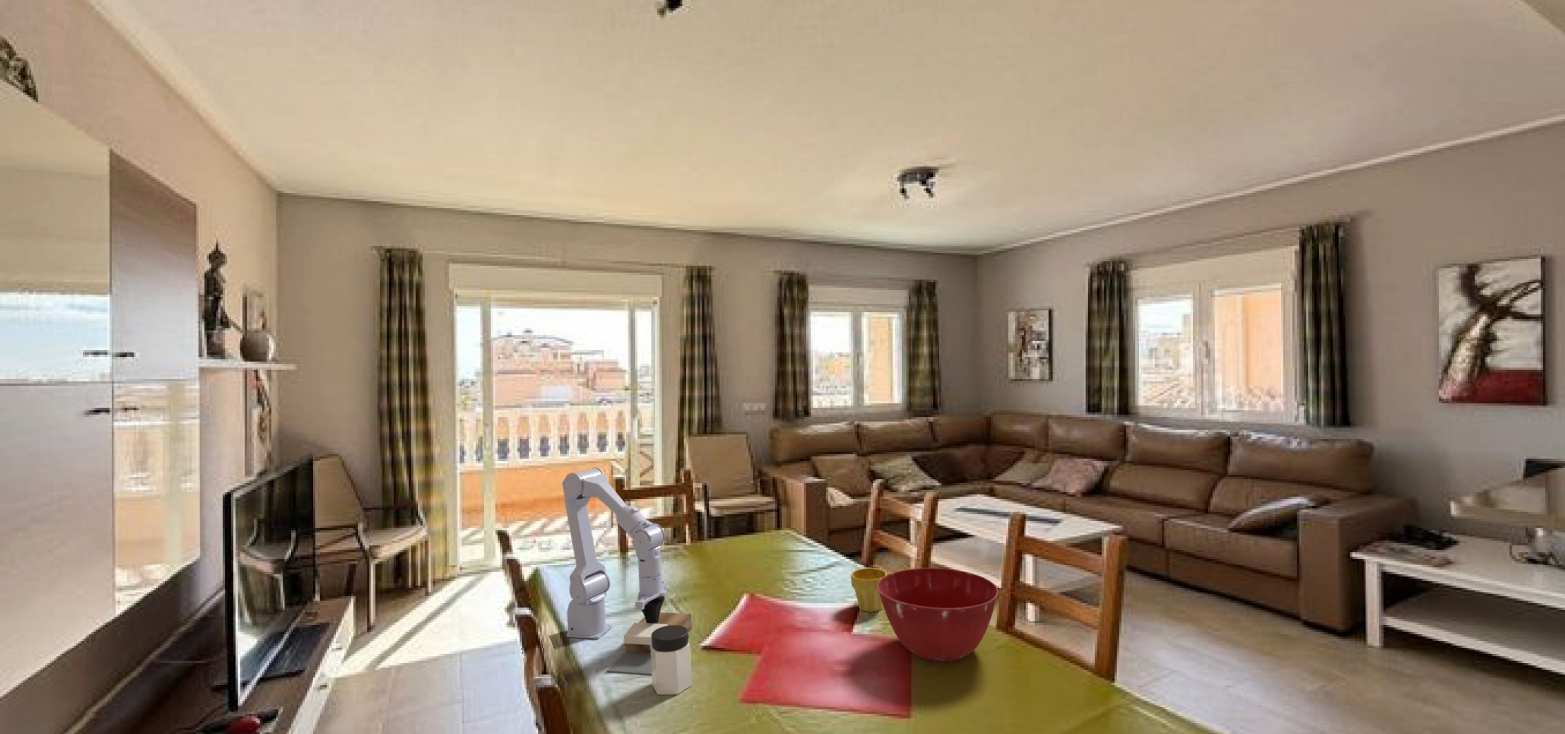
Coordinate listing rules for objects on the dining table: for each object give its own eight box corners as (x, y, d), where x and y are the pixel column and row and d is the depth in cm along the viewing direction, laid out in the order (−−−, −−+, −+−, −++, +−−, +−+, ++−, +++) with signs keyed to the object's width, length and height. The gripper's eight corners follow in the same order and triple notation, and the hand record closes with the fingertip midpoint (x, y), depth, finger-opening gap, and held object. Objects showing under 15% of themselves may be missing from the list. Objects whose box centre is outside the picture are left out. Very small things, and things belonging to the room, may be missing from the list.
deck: (625, 651, 160) (624, 635, 160) (650, 626, 174) (649, 611, 174) (670, 654, 157) (669, 637, 157) (691, 628, 172) (691, 613, 172)
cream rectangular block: (624, 643, 156) (623, 635, 156) (635, 629, 162) (634, 622, 162) (658, 645, 154) (657, 637, 154) (668, 631, 160) (667, 624, 160)
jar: (696, 689, 139) (693, 635, 139) (659, 699, 136) (657, 644, 136) (684, 672, 147) (681, 621, 147) (649, 681, 144) (646, 629, 144)
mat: (607, 671, 149) (606, 670, 149) (626, 652, 159) (626, 651, 159) (654, 675, 147) (654, 673, 147) (671, 655, 157) (671, 653, 157)
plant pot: (847, 612, 178) (846, 577, 178) (857, 599, 188) (856, 566, 187) (884, 616, 174) (882, 581, 174) (892, 602, 184) (891, 569, 184)
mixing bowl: (921, 615, 174) (918, 559, 174) (1022, 645, 154) (1019, 581, 153) (856, 651, 154) (853, 588, 154) (962, 691, 134) (959, 618, 134)
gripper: (653, 584, 154) (655, 640, 154) (675, 565, 168) (678, 616, 168) (626, 583, 155) (628, 638, 156) (650, 564, 170) (653, 615, 170)
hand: (652, 627), depth 162 cm, fingers closed
